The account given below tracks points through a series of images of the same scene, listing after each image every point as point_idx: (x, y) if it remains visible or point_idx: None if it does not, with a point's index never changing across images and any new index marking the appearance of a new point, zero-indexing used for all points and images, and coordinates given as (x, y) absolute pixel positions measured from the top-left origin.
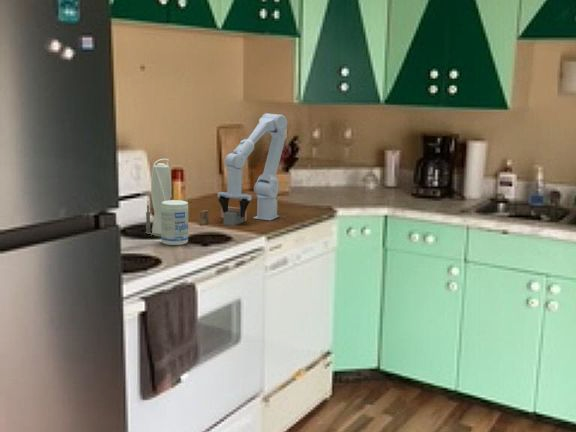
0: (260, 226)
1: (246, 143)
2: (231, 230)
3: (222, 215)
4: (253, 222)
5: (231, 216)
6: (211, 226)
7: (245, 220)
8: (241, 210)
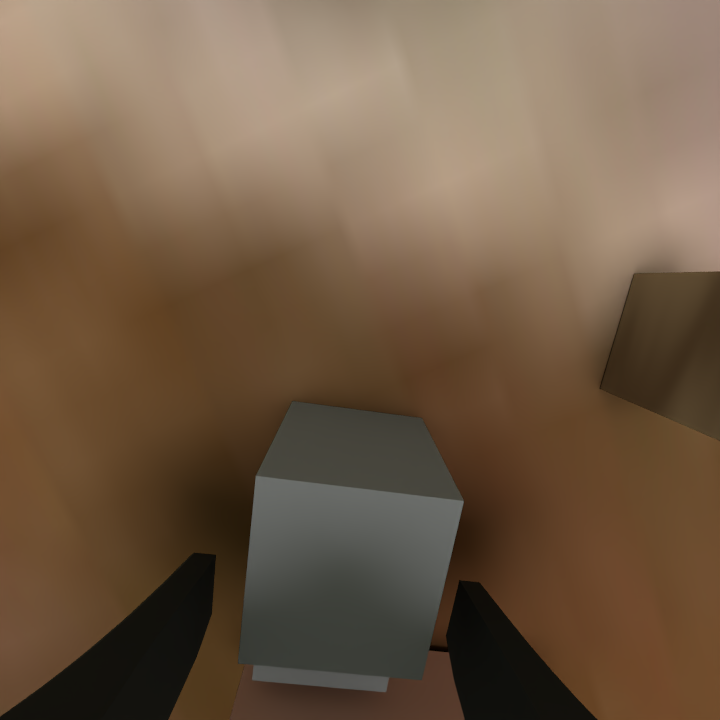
0: (2, 494)
1: None
2: (213, 148)
3: None
4: None
5: (305, 457)
6: (527, 270)
7: None
8: (126, 642)
